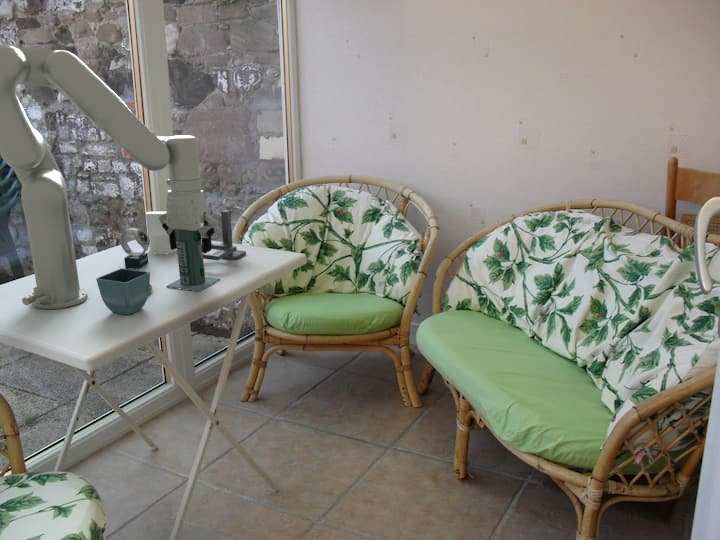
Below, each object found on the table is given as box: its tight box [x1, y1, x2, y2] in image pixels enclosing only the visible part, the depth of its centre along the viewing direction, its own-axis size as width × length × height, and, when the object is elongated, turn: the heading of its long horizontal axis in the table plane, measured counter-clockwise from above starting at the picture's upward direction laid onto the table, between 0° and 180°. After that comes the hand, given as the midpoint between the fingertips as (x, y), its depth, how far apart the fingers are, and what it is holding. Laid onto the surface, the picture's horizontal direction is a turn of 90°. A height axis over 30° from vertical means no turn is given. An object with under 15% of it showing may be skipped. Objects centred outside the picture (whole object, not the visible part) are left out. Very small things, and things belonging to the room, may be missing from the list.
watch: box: [119, 227, 150, 270], centre depth 188 cm, size 6×8×11 cm
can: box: [175, 229, 206, 286], centre depth 173 cm, size 6×6×15 cm
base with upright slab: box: [145, 211, 177, 255], centre depth 203 cm, size 9×9×12 cm
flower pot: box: [95, 268, 151, 316], centre depth 156 cm, size 9×9×9 cm
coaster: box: [166, 276, 221, 292], centre depth 175 cm, size 10×10×1 cm
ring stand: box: [203, 209, 247, 261], centre depth 192 cm, size 18×10×14 cm, turn 160°
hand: (190, 250), depth 172 cm, fingers open, 9 cm apart
